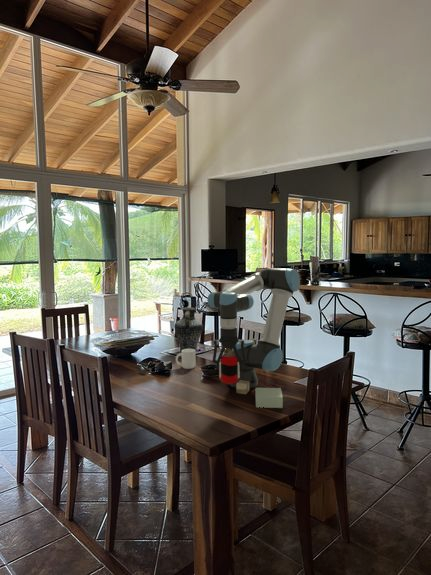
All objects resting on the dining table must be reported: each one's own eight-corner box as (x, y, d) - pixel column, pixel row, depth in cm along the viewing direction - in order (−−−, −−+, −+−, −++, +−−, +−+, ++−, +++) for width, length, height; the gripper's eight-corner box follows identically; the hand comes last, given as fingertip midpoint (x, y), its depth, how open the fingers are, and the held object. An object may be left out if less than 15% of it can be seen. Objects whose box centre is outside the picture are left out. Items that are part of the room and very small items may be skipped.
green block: (255, 407, 193) (255, 396, 193) (255, 397, 205) (255, 387, 205) (282, 407, 192) (282, 397, 192) (280, 398, 204) (280, 388, 204)
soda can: (224, 377, 197) (224, 351, 196) (240, 379, 194) (240, 353, 193) (218, 382, 190) (218, 356, 189) (234, 384, 187) (234, 357, 186)
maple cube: (245, 394, 210) (245, 384, 210) (236, 393, 212) (236, 383, 212) (249, 391, 215) (249, 381, 214) (240, 389, 217) (239, 380, 216)
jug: (174, 348, 302) (173, 306, 299) (202, 347, 304) (201, 305, 301) (175, 355, 282) (174, 311, 278) (204, 354, 284) (203, 310, 280)
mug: (177, 370, 250) (176, 353, 249) (174, 366, 258) (174, 349, 257) (196, 368, 254) (196, 351, 253) (193, 364, 262) (193, 348, 260)
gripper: (205, 329, 186) (206, 379, 189) (251, 329, 185) (252, 380, 188) (206, 325, 194) (207, 374, 197) (251, 325, 192) (252, 374, 195)
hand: (229, 377), depth 192 cm, fingers closed on soda can, 7 cm apart
